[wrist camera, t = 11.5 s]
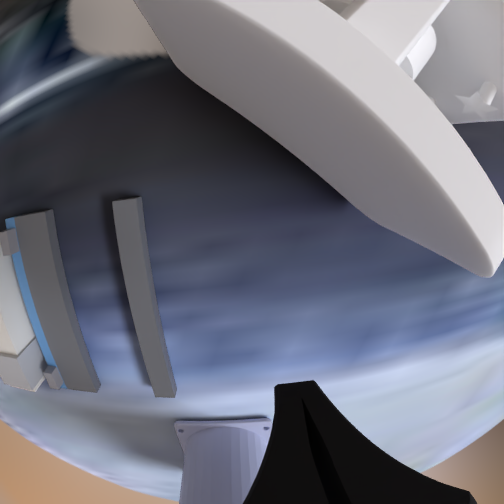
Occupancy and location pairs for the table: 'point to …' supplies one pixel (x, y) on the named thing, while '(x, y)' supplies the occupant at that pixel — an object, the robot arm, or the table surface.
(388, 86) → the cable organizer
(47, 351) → the board
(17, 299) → the tall beige pillar
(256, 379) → the table surface
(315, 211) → the table surface
